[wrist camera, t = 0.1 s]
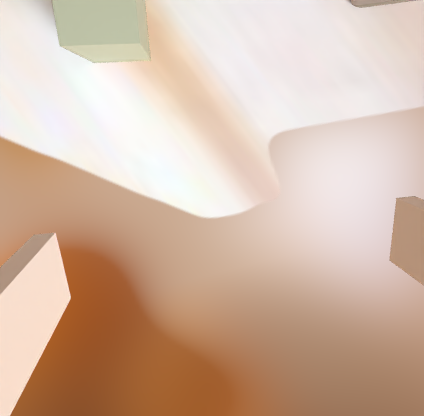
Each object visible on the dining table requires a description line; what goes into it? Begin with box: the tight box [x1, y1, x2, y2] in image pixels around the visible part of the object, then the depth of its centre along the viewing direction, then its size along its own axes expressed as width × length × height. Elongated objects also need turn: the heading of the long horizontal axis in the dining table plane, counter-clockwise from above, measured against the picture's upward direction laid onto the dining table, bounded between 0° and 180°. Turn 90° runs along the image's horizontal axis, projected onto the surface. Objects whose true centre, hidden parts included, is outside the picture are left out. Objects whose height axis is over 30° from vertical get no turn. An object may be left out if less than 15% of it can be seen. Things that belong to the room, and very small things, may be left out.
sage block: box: [52, 0, 151, 63], centre depth 30 cm, size 6×6×11 cm
